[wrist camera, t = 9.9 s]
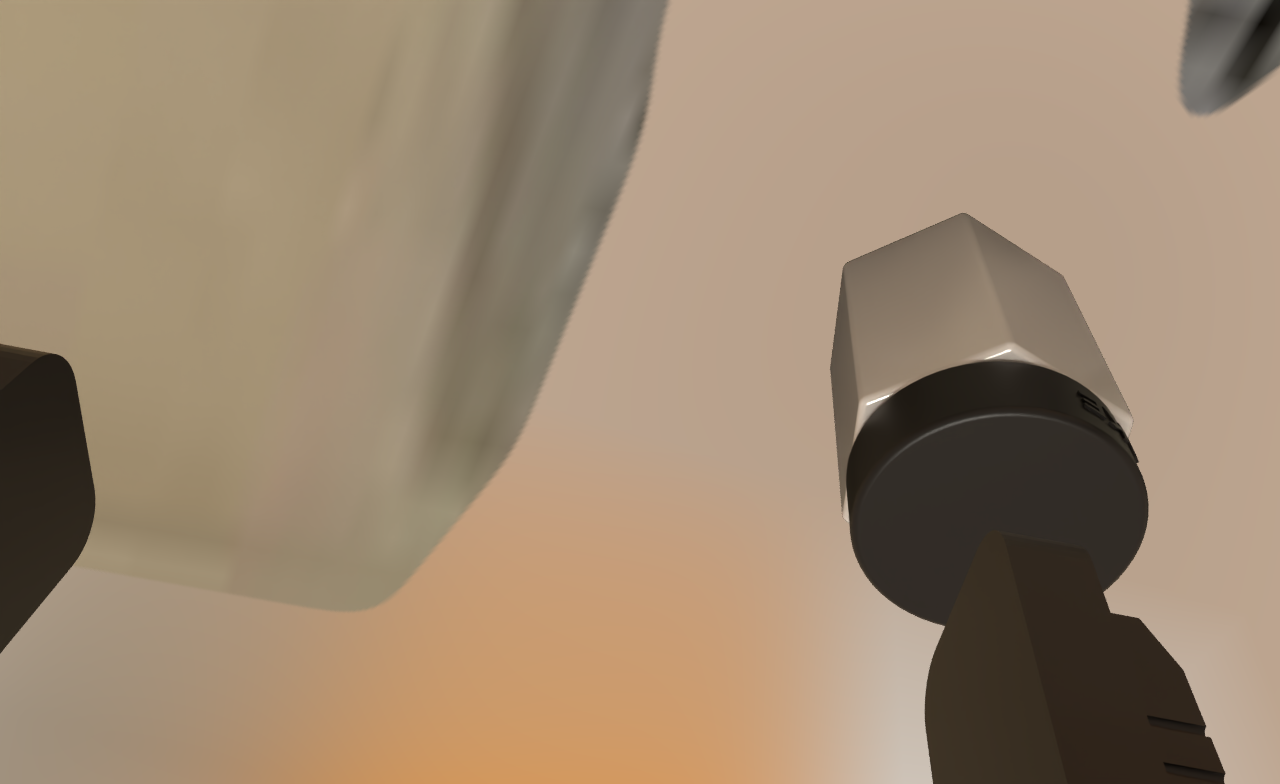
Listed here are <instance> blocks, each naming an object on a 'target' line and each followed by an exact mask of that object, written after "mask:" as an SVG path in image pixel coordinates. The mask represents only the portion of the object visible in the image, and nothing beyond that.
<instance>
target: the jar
mask: <svg viewBox="0 0 1280 784" xmlns="http://www.w3.org/2000/svg"><path fill="white" fill-rule="evenodd" d="M830 370H831V383H832V395H833V408H834V420H835V431H836V445H837V457H838V469H839V481H840V494H841V507H842V516H843V519H844V520H845V521H846V522H848V523H849V524H850V534H851V541H852V546H853V549H854V553H855V556H856V558H857V561H858V563H859V565H860V567H861V569H862V570H863V572H864V574H865V575H866V577H867V578H868V579H869V581H870V582H871V583H872V585H874V587H875V588H876V589H877V590H878V591H879V592H880V593H881V594H882V595H884V596H885V597H886V598H887V599H888V600H890V601H891V602H893V603H894V604H896V605H897V606H898V607H900V608H902V609H903V610H905V611H907V612H909V613H911V614H913V615H915V616H917V617H919V618H922V619H925V620H927V621H930V622H933V623H936V624H940V625H943V626H946V623H947V621H948V618H949V616H950V614H951V611H952V609H953V606H954V604H955V602H956V599H957V597H958V595H959V592H960V590H961V587H962V585H963V583H964V580H965V578H966V575H967V573H968V571H969V568H970V566H971V563H972V561H973V559H974V556H975V554H976V551H977V549H978V547H979V545H980V543H981V541H982V540H983V538H984V537H985V536H986V535H987V533H989V532H990V531H993V530H997V531H1003V532H1008V533H1014V534H1019V535H1024V536H1030V537H1035V538H1041V539H1046V540H1052V541H1057V542H1062V543H1068V544H1073V545H1078V546H1082V547H1083V548H1084V549H1086V551H1087V552H1088V553H1089V555H1090V557H1091V559H1092V562H1093V565H1094V568H1095V570H1096V573H1097V576H1098V579H1099V582H1100V585H1101V587H1102V590H1103V592H1104V591H1105V590H1106V589H1108V588H1109V587H1110V586H1111V585H1112V584H1113V583H1114V582H1115V581H1116V580H1117V579H1118V578H1119V577H1120V575H1122V573H1123V572H1124V571H1125V570H1126V569H1127V567H1128V566H1129V564H1130V563H1131V561H1132V560H1133V559H1134V557H1135V555H1136V553H1137V551H1138V550H1139V547H1140V545H1141V543H1142V540H1143V538H1144V534H1145V531H1146V527H1147V521H1148V496H1147V490H1146V486H1145V483H1144V480H1143V476H1142V474H1141V472H1140V470H1139V468H1138V466H1137V463H1138V459H1137V456H1136V454H1135V452H1134V450H1133V448H1132V446H1131V443H1130V441H1129V439H1128V438H1129V435H1130V431H1131V429H1132V425H1133V417H1132V415H1131V413H1130V410H1129V409H1128V406H1127V404H1126V402H1125V400H1124V398H1123V396H1122V394H1121V392H1120V391H1119V388H1118V386H1117V384H1116V382H1115V380H1114V378H1113V376H1112V374H1111V372H1110V370H1109V368H1108V366H1107V364H1106V362H1105V360H1104V358H1103V356H1102V354H1101V352H1100V350H1099V348H1098V346H1097V344H1096V342H1095V340H1094V337H1093V335H1092V333H1091V331H1090V329H1089V327H1088V325H1087V323H1086V321H1085V320H1084V317H1083V315H1082V313H1081V311H1080V309H1079V307H1078V305H1077V303H1076V301H1075V299H1074V297H1073V295H1072V293H1071V291H1070V289H1069V287H1068V285H1067V283H1066V281H1065V279H1064V277H1063V276H1062V275H1061V274H1060V273H1058V272H1056V271H1055V270H1053V269H1052V268H1050V267H1049V266H1047V265H1046V264H1044V263H1042V262H1041V261H1039V260H1038V259H1036V258H1035V257H1033V256H1032V255H1030V254H1029V253H1027V252H1025V251H1024V250H1022V249H1021V248H1019V247H1018V246H1016V245H1015V244H1013V243H1011V242H1010V241H1008V240H1007V239H1005V238H1004V237H1002V236H1001V235H999V234H998V233H996V232H994V231H993V230H991V229H990V228H988V227H987V226H985V225H984V224H982V223H981V222H979V221H977V220H976V219H974V218H973V217H971V216H970V215H968V214H965V213H961V214H958V215H956V216H954V217H951V218H949V219H947V220H945V221H942V222H940V223H937V224H935V225H933V226H930V227H928V228H926V229H924V230H921V231H919V232H917V233H914V234H912V235H910V236H907V237H905V238H903V239H900V240H898V241H896V242H893V243H891V244H889V245H886V246H884V247H882V248H879V249H877V250H875V251H873V252H870V253H868V254H865V255H863V256H861V257H859V258H856V259H854V260H852V261H849V262H847V263H846V264H845V265H844V267H843V273H842V280H841V288H840V296H839V303H838V311H837V319H836V327H835V335H834V343H833V350H832V358H831V366H830Z"/></svg>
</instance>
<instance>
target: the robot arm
mask: <svg viewBox="0 0 1280 784" xmlns="http://www.w3.org/2000/svg"><path fill="white" fill-rule="evenodd" d="M94 512H95V490H94V484H93V478H92V472H91V466H90V461H89V455H88V449H87V443H86V438H85V432H84V426H83V420H82V415H81V409H80V403H79V397H78V391H77V386H76V380H75V376H74V373H73V370H72V368H71V366H70V365H69V363H68V362H67V360H65V359H64V358H63V357H62V356H60V355H57V354H52V353H47V352H41V351H36V350H30V349H25V348H20V347H14V346H9V345H3V344H0V653H1V652H2V651H3V649H4V648H5V647H6V646H7V645H8V643H9V642H10V641H11V640H12V638H13V637H14V636H15V635H16V634H17V632H18V631H19V630H20V629H21V627H22V626H23V625H24V624H25V623H26V621H27V620H28V619H29V618H30V617H31V615H32V614H33V613H34V612H35V611H36V609H37V608H38V607H39V606H40V604H41V603H42V602H43V601H44V600H45V598H46V597H47V596H48V595H49V593H50V592H51V591H52V590H53V589H54V587H55V586H56V585H57V583H59V581H60V580H61V579H62V578H63V577H64V575H65V574H66V573H67V572H68V570H69V569H70V568H71V567H72V566H73V564H74V563H75V562H76V560H77V559H78V557H79V555H80V554H81V552H82V550H83V548H84V546H85V544H86V542H87V539H88V536H89V534H90V531H91V527H92V523H93V518H94ZM925 726H926V734H927V741H928V749H929V757H930V764H931V771H932V779H933V784H1224V775H1225V771H1224V769H1223V767H1222V764H1221V762H1220V759H1219V757H1218V754H1217V752H1216V749H1215V747H1214V744H1213V742H1212V739H1211V738H1210V737H1205V728H1206V725H1205V722H1204V720H1203V717H1202V715H1201V712H1200V710H1199V708H1198V705H1197V703H1196V700H1195V698H1194V695H1193V693H1192V690H1191V688H1190V686H1189V683H1188V681H1187V678H1186V676H1185V673H1184V671H1183V669H1182V668H1181V667H1180V666H1179V665H1178V663H1177V662H1176V661H1175V660H1174V659H1173V658H1172V656H1171V655H1170V654H1169V653H1168V652H1167V651H1166V649H1165V648H1164V647H1163V646H1162V645H1161V644H1160V642H1159V641H1158V640H1157V639H1156V638H1155V637H1154V635H1153V634H1152V633H1151V632H1150V631H1149V630H1148V628H1147V627H1146V626H1145V625H1144V624H1143V623H1142V621H1141V620H1140V619H1139V618H1135V617H1129V616H1124V615H1119V614H1113V613H1110V610H1109V608H1108V604H1107V602H1106V599H1105V596H1104V593H1103V590H1102V587H1101V585H1100V582H1099V579H1098V576H1097V573H1096V570H1095V568H1094V565H1093V562H1092V559H1091V557H1090V555H1089V553H1088V552H1087V551H1086V549H1084V548H1083V547H1082V546H1078V545H1073V544H1068V543H1062V542H1057V541H1052V540H1046V539H1041V538H1035V537H1030V536H1024V535H1019V534H1014V533H1008V532H1003V531H997V530H993V531H990V532H989V533H987V535H986V536H985V537H984V538H983V540H982V541H981V543H980V545H979V547H978V549H977V551H976V554H975V556H974V559H973V561H972V563H971V566H970V568H969V571H968V573H967V575H966V578H965V580H964V583H963V585H962V587H961V590H960V592H959V595H958V597H957V599H956V602H955V604H954V606H953V609H952V611H951V614H950V616H949V618H948V621H947V623H946V626H945V628H944V630H943V633H942V635H941V638H940V640H939V643H938V645H937V647H936V650H935V652H934V655H933V658H932V662H931V665H930V670H929V674H928V680H927V687H926V696H925Z"/></svg>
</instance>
